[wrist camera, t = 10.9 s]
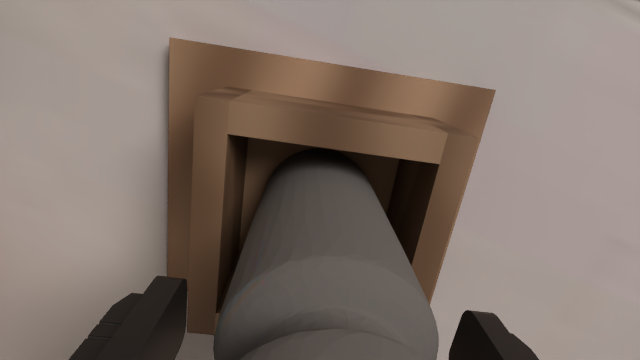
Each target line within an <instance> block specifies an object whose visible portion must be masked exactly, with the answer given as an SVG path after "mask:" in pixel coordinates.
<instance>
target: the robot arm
mask: <svg viewBox="0 0 640 360" xmlns="http://www.w3.org/2000/svg"><path fill="white" fill-rule="evenodd" d="M186 308H187V280H186V279H183V278H174V277H165V276H157V277H155V278H154V280H153V281H152V282H151V284H150V285H149V287H148V288H147V289H146V291H145V292H144V294H137V293H131V294H129V295H128V296H126V297H125V298H123V299H122V300H120V301H119V302H117V303H116V304H114V305H113V306H112V307H111V308H110V310H109V311H108V312H107V313H106V314H105V316H104V317H103V318H102V319H101V321H100V323H99V325H96V327H95V328H94V329H93V330H92V332H91V333H90V334H89V336H88V339H85V340H84V341H83V343H82V344H81V345H80V346H79V347H78V349H77V350H76V351H75V352H74V354H73V355H72V356H71V357H70V359H69V360H175V358H176V356H177V353H178V351H179V349H180V347H181V344H182V341H183V337H184V333H185V328H186ZM449 360H539V359H538V358H537V356H536V355H535V354H534V352H533V351H532V350H531V349H530V348H529V347H528V346H527V345H526V344H524V343H523V342H522V341H521V340H520V339H518V338H517V337H516V336H515V335H514V334H511V333H509V332H508V330H507V329H506V327H505V326H504V325H503V323H502V322H501V321H500V319H499V318H498V317H497V316H496V315H495V314H493V313H487V312H478V311H469V310H467V311H465V312H464V313H463V314H462V317H461V320H460V322H459V325H458V328H457V331H456V334H455V337H454V340H453V342H452V345H451V348H450V352H449Z"/></svg>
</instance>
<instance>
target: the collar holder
mask: <svg viewBox="0 0 640 360" xmlns="http://www.w3.org/2000/svg"><path fill="white" fill-rule="evenodd" d="M495 91H496V90H491V89H485V88H479V87H473V86H467V85H460V84H454V83H448V82H442V81H436V80H429V79H423V78H417V77H411V76H405V75H398V74H392V73H386V72H380V71H374V70H368V69H361V68H355V67H349V66H343V65H337V64H330V63H324V62H318V61H312V60H306V59H299V58H293V57H287V56H281V55H275V54H268V53H262V52H256V51H250V50H244V49H237V48H231V47H225V46H219V45H213V44H206V43H200V42H194V41H188V40H182V39H175V38H169V149H168V261H167V277H174V278H183V279H186V280H187V291H188V320H187V332H189V333H199V334H209V335H215V331H216V327H217V323H218V318H219V315H220V312H221V309H222V306H223V303H224V300H225V298H226V295H227V292H228V289H229V286H230V283H231V281H232V278H233V275H234V272H235V269H236V266H237V264H238V261H239V258H240V255H241V252H242V249H243V247H244V244H245V241H246V238H247V235H248V232H249V230H250V227H251V224H252V222H253V219H254V216H255V214H256V211H257V208H258V206H259V203H260V200H261V198H262V195H263V192H264V190H265V187H266V185H267V182H268V180H269V178H270V177H271V175H272V173H273V172H274V170H275V169H276V168H277V167H278V165H279V164H280V163H282V162H283V161H284V160H285V159H287V158H288V157H290V156H292V155H294V154H296V153H298V152H301V151H305V150H309V149H328V150H333V151H336V152H339V153H341V154H343V155H345V156H347V157H349V158H350V159H351V160H352V161H354V162H355V163H356V164H357V165H358V166H359V167H360V168H361V170H362V171H363V172H364V174H365V175H366V177H367V179H368V181H369V183H370V184H371V186H372V188H373V190H374V192H375V194H376V196H377V198H378V200H379V202H380V204H381V206H382V208H383V210H384V212H385V214H386V216H387V218H388V220H389V222H390V224H391V226H392V228H393V230H394V232H395V234H396V236H397V238H398V240H399V242H400V244H401V246H402V248H403V250H404V252H405V254H406V256H407V258H408V260H409V262H410V265H411V267H412V269H413V271H414V273H415V275H416V277H417V279H418V281H419V284H420V286H421V288H422V290H423V292H424V294H425V296H426V298H427V300H428V303H429V305H430V302H431V299H432V295H433V292H434V289H435V286H436V283H437V279H438V276H439V273H440V270H441V266H442V263H443V260H444V257H445V253H446V250H447V247H448V244H449V240H450V237H451V234H452V231H453V227H454V224H455V221H456V218H457V214H458V211H459V208H460V205H461V201H462V198H463V195H464V192H465V189H466V185H467V182H468V179H469V176H470V172H471V169H472V166H473V163H474V159H475V156H476V153H477V150H478V146H479V143H480V140H481V137H482V133H483V130H484V127H485V124H486V120H487V117H488V114H489V111H490V107H491V104H492V101H493V98H494V94H495Z"/></svg>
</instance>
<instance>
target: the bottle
mask: <svg viewBox="0 0 640 360" xmlns="http://www.w3.org/2000/svg"><path fill="white" fill-rule="evenodd" d="M213 350H214V359H215V360H436V359H437V352H438V331H437V326H436V321H435V318H434V315H433V313H432V310H431V307H430V305H429V303H428V300H427V298H426V296H425V294H424V292H423V290H422V288H421V286H420V284H419V281H418V279H417V277H416V275H415V273H414V271H413V269H412V267H411V265H410V262H409V260H408V258H407V256H406V254H405V252H404V250H403V248H402V246H401V244H400V242H399V240H398V238H397V236H396V234H395V232H394V230H393V228H392V226H391V224H390V222H389V220H388V218H387V216H386V214H385V212H384V210H383V208H382V206H381V204H380V202H379V200H378V198H377V196H376V194H375V192H374V190H373V188H372V186H371V184H370V183H369V181H368V179H367V177H366V175H365V174H364V172H363V171H362V170H361V168H360V167H359V166H358V165H357V164H356V163H355V162H354V161H352V160H351V159H350V158H349V157H347V156H345V155H343V154H341V153H339V152H336V151H333V150H328V149H309V150H305V151H301V152H298V153H296V154H294V155H292V156H290V157H288V158H287V159H285V160H284V161H283V162H282V163H280V164H279V165H278V167H277V168H276V169H275V170H274V172H273V173H272V175H271V177H270V178H269V180H268V182H267V185H266V187H265V190H264V192H263V195H262V198H261V200H260V203H259V206H258V208H257V211H256V214H255V216H254V219H253V222H252V224H251V227H250V230H249V232H248V235H247V238H246V241H245V244H244V247H243V249H242V252H241V255H240V258H239V261H238V264H237V266H236V269H235V272H234V275H233V278H232V281H231V283H230V286H229V289H228V292H227V295H226V298H225V300H224V303H223V306H222V309H221V312H220V315H219V318H218V323H217V327H216V331H215V335H214V348H213Z"/></svg>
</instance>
